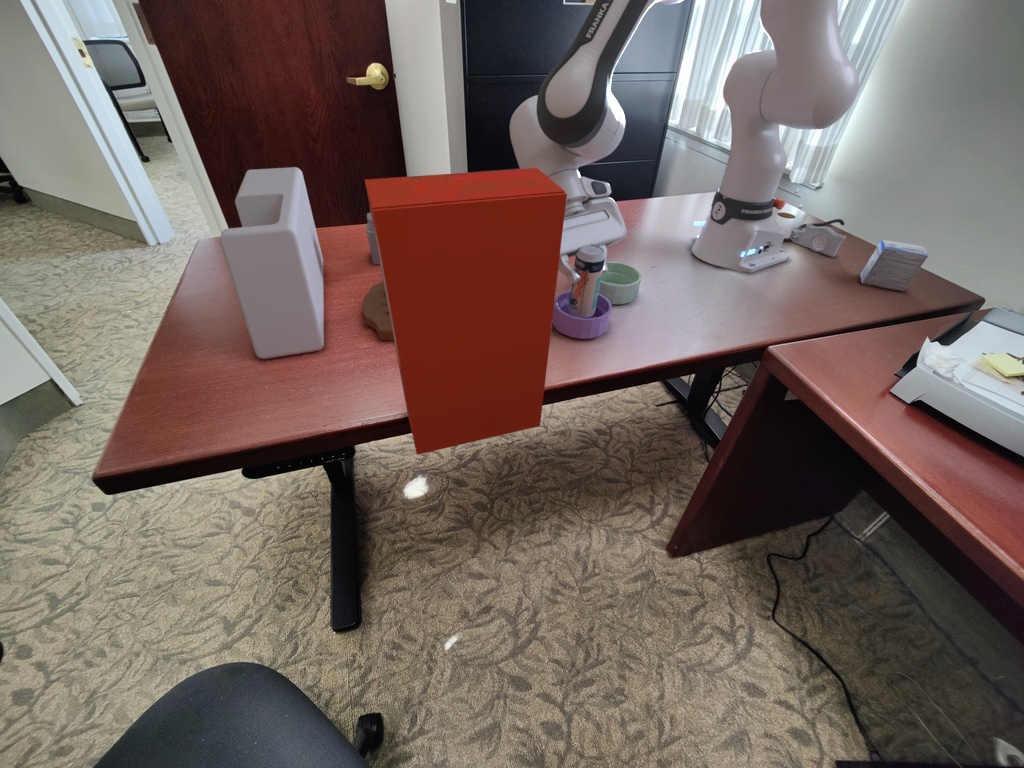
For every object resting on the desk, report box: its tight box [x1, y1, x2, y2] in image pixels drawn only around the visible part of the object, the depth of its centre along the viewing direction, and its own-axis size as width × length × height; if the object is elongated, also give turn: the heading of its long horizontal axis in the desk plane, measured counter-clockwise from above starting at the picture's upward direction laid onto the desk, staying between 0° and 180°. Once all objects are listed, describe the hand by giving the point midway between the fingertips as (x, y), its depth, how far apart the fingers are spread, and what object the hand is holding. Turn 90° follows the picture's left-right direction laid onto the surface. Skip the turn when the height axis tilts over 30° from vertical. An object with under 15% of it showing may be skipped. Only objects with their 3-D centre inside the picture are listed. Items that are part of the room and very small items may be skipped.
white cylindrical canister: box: [568, 245, 606, 318], centre depth 75 cm, size 5×5×12 cm
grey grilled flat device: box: [788, 222, 847, 258], centre depth 108 cm, size 12×2×6 cm, turn 34°
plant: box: [362, 281, 394, 342], centre depth 79 cm, size 20×20×11 cm
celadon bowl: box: [599, 261, 642, 305], centre depth 88 cm, size 10×10×4 cm
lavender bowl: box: [552, 289, 613, 340], centre depth 79 cm, size 10×10×4 cm
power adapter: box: [366, 210, 380, 265], centre depth 94 cm, size 3×5×12 cm, turn 15°
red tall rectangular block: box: [364, 168, 567, 456], centre depth 51 cm, size 8×17×32 cm, turn 109°
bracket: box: [219, 166, 325, 360], centre depth 79 cm, size 30×10×30 cm, turn 18°
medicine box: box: [859, 239, 929, 292], centre depth 94 cm, size 8×4×9 cm, turn 65°
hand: (589, 278), depth 74 cm, fingers closed on white cylindrical canister, 5 cm apart
